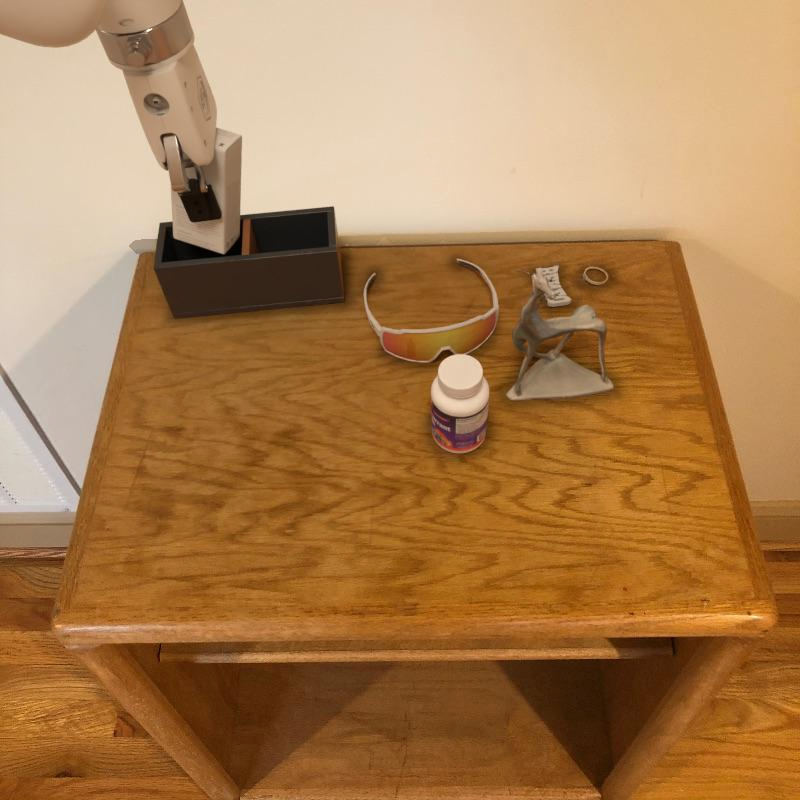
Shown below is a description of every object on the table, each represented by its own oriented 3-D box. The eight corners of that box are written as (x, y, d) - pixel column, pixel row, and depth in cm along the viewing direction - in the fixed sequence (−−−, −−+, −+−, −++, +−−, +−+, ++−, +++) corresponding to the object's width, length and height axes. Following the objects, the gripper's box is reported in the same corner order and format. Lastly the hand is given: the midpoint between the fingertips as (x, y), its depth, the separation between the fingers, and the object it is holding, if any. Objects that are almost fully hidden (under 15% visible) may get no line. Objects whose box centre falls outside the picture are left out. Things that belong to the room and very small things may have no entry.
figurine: (605, 347, 82) (632, 240, 70) (615, 397, 79) (646, 292, 66) (501, 351, 83) (510, 245, 71) (506, 400, 79) (517, 296, 67)
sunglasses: (379, 378, 81) (375, 342, 77) (358, 292, 92) (353, 256, 88) (512, 354, 82) (513, 317, 79) (475, 271, 93) (475, 236, 89)
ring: (613, 278, 87) (589, 283, 87) (610, 284, 88) (587, 289, 87) (602, 262, 89) (578, 266, 88) (600, 268, 90) (576, 272, 89)
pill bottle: (423, 420, 78) (420, 358, 70) (472, 403, 79) (475, 340, 71) (444, 463, 75) (444, 403, 67) (495, 444, 76) (501, 383, 68)
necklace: (556, 265, 90) (514, 270, 89) (557, 261, 89) (515, 266, 89) (573, 307, 86) (529, 312, 85) (574, 303, 85) (529, 308, 85)
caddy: (173, 318, 88) (152, 268, 81) (178, 273, 92) (159, 222, 86) (344, 302, 88) (336, 250, 82) (341, 258, 92) (334, 205, 86)
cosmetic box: (240, 236, 85) (247, 133, 77) (223, 258, 82) (227, 152, 73) (188, 219, 85) (188, 114, 77) (168, 240, 82) (166, 132, 74)
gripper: (182, 85, 60) (242, 250, 75) (195, -30, 70) (246, 136, 85) (87, 98, 61) (165, 260, 75) (113, -19, 70) (178, 145, 85)
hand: (208, 193), depth 80 cm, fingers closed on cosmetic box, 6 cm apart
